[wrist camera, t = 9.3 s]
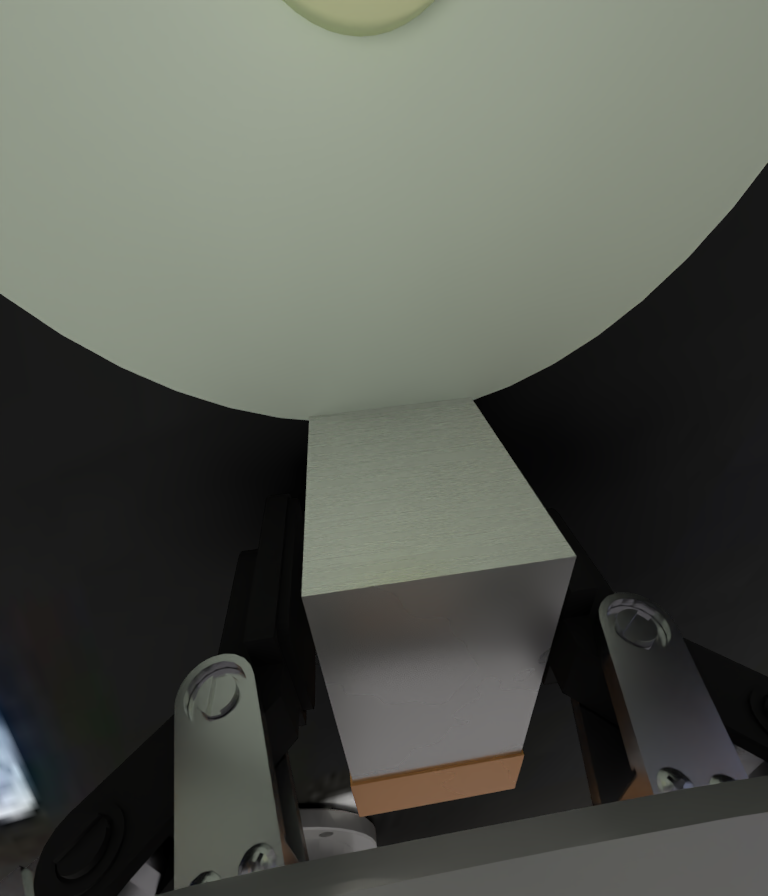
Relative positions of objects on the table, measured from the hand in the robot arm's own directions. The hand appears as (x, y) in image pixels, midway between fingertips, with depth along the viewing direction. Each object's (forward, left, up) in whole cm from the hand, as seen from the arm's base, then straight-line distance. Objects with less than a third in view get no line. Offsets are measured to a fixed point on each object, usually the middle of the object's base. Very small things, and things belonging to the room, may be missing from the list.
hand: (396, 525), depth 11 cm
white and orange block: (0, 0, -2) cm, 2 cm away
